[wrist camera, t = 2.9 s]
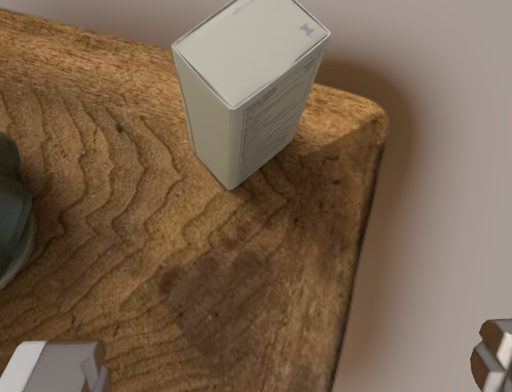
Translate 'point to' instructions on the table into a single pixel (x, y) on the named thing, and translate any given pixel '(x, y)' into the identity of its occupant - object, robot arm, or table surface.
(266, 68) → the cosmetic box
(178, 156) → the table surface
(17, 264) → the figurine
